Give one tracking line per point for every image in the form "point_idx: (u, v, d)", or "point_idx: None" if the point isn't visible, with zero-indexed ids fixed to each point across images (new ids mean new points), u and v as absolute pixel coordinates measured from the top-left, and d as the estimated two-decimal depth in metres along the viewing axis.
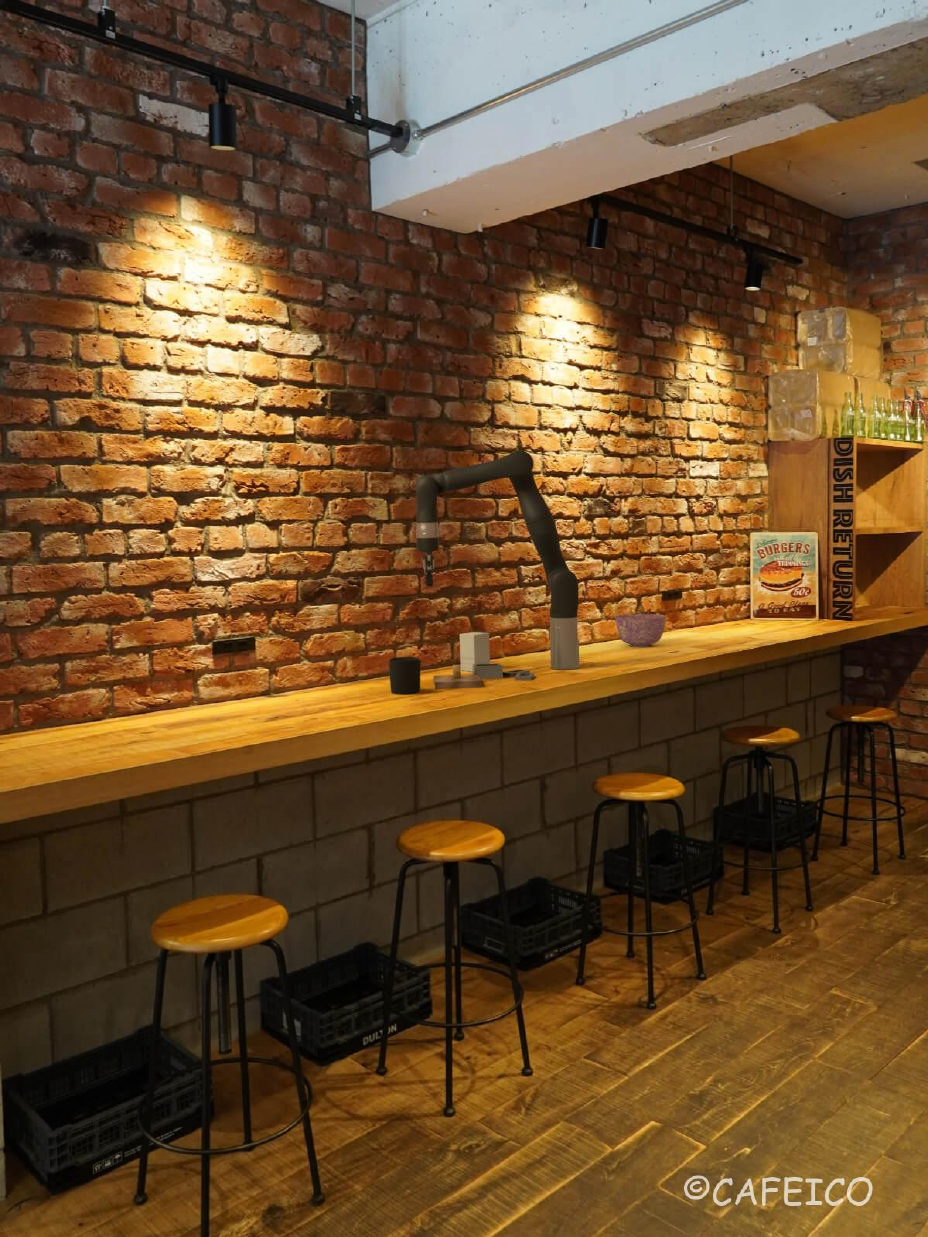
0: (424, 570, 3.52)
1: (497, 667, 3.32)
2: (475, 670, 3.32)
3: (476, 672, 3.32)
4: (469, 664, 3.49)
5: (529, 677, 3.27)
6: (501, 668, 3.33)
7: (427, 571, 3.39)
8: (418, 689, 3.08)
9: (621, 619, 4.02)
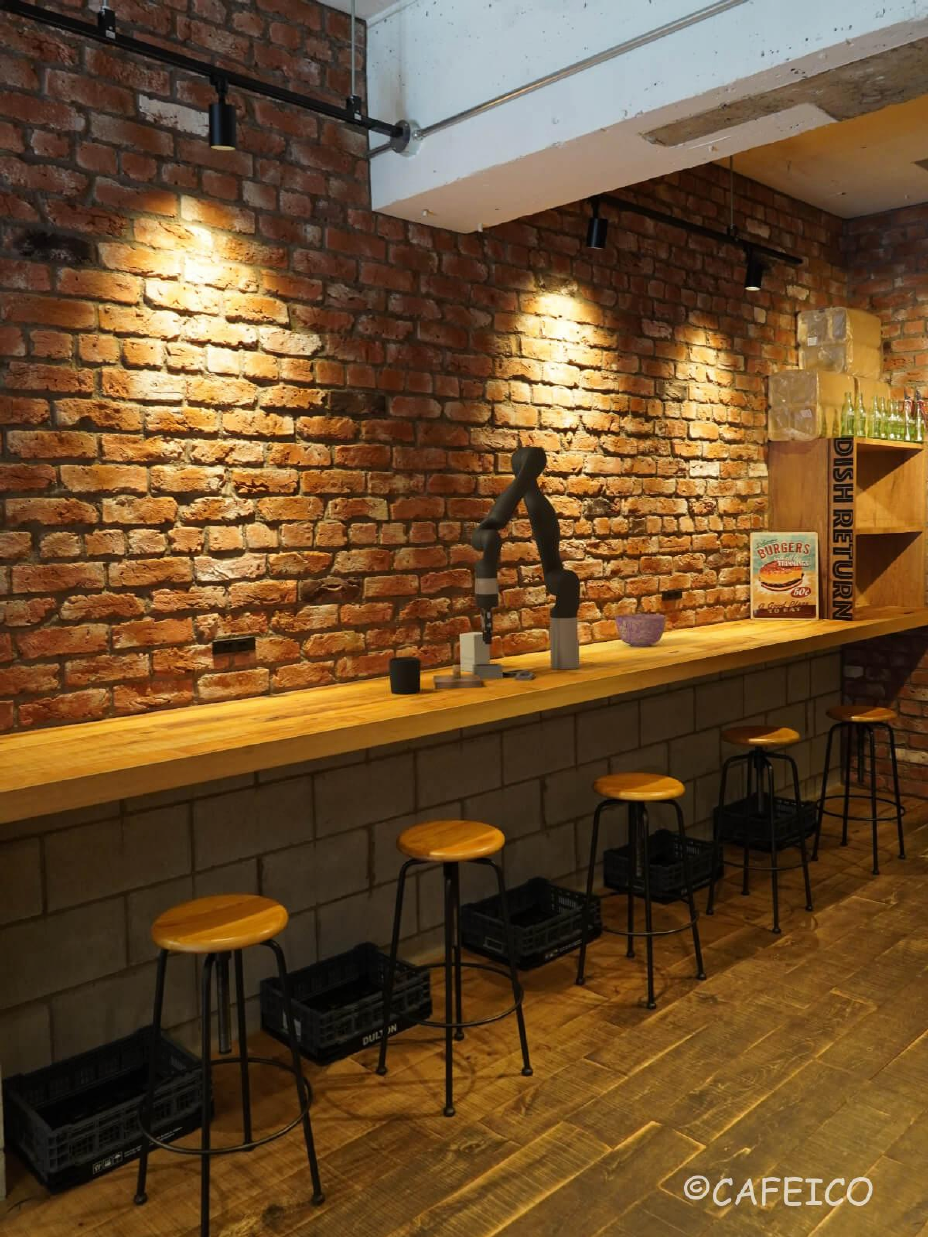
0: None
1: (497, 667, 3.32)
2: (475, 670, 3.32)
3: (476, 672, 3.32)
4: (470, 664, 3.49)
5: (529, 677, 3.27)
6: (501, 668, 3.33)
7: (486, 629, 3.27)
8: (418, 689, 3.08)
9: (621, 619, 4.02)
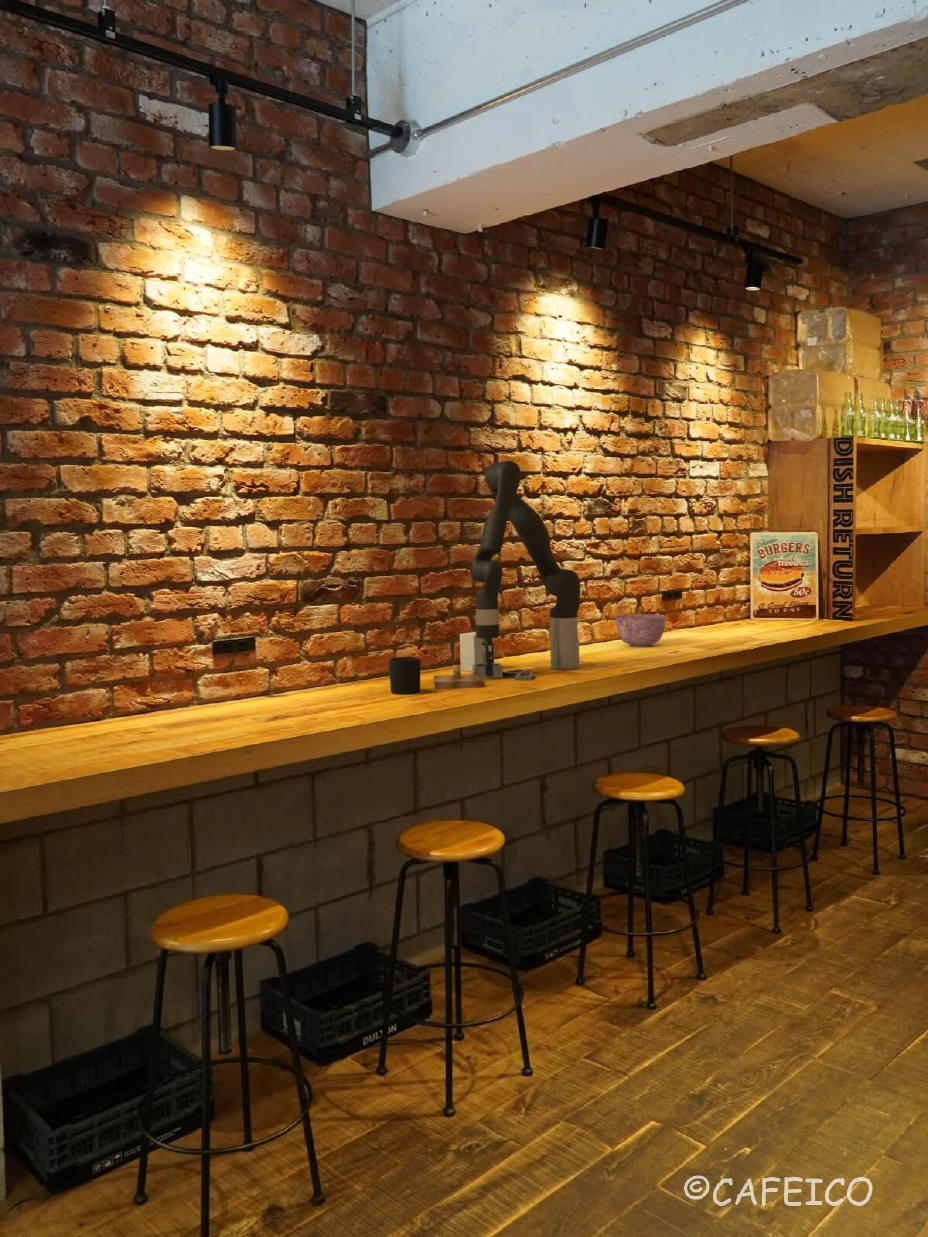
0: None
1: (497, 667, 3.32)
2: (475, 670, 3.32)
3: (476, 672, 3.32)
4: (470, 664, 3.49)
5: (529, 677, 3.27)
6: (501, 668, 3.33)
7: (488, 662, 3.29)
8: (418, 689, 3.08)
9: (621, 619, 4.02)
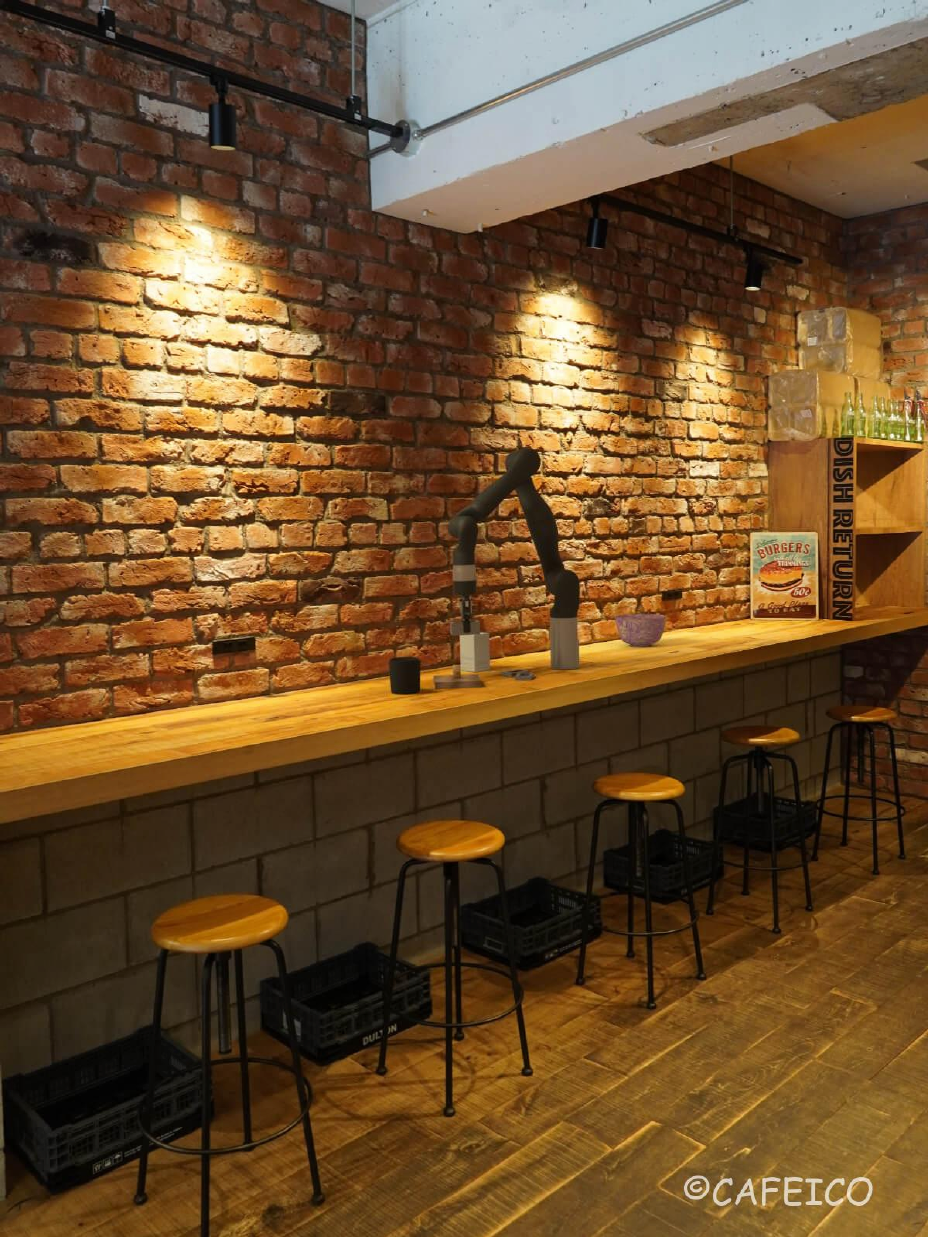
0: None
1: (474, 623, 3.31)
2: (452, 626, 3.30)
3: (453, 628, 3.30)
4: (470, 664, 3.49)
5: (529, 677, 3.27)
6: (478, 624, 3.31)
7: (465, 618, 3.27)
8: (418, 689, 3.08)
9: (621, 619, 4.02)
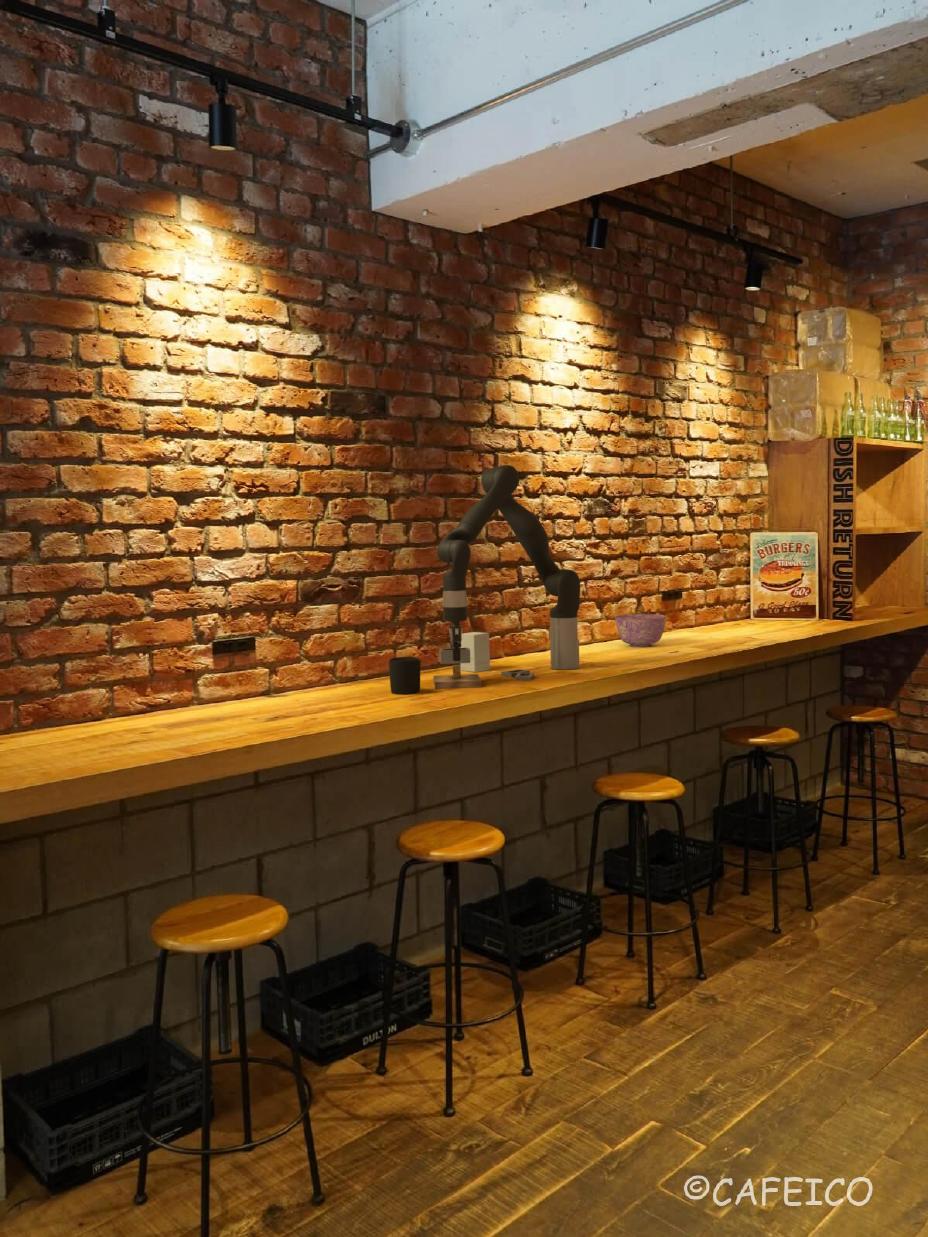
0: (451, 642, 3.26)
1: (464, 651, 3.18)
2: (441, 654, 3.18)
3: (442, 656, 3.18)
4: (470, 664, 3.49)
5: (529, 677, 3.27)
6: (469, 652, 3.18)
7: (455, 646, 3.15)
8: (418, 689, 3.08)
9: (621, 619, 4.02)
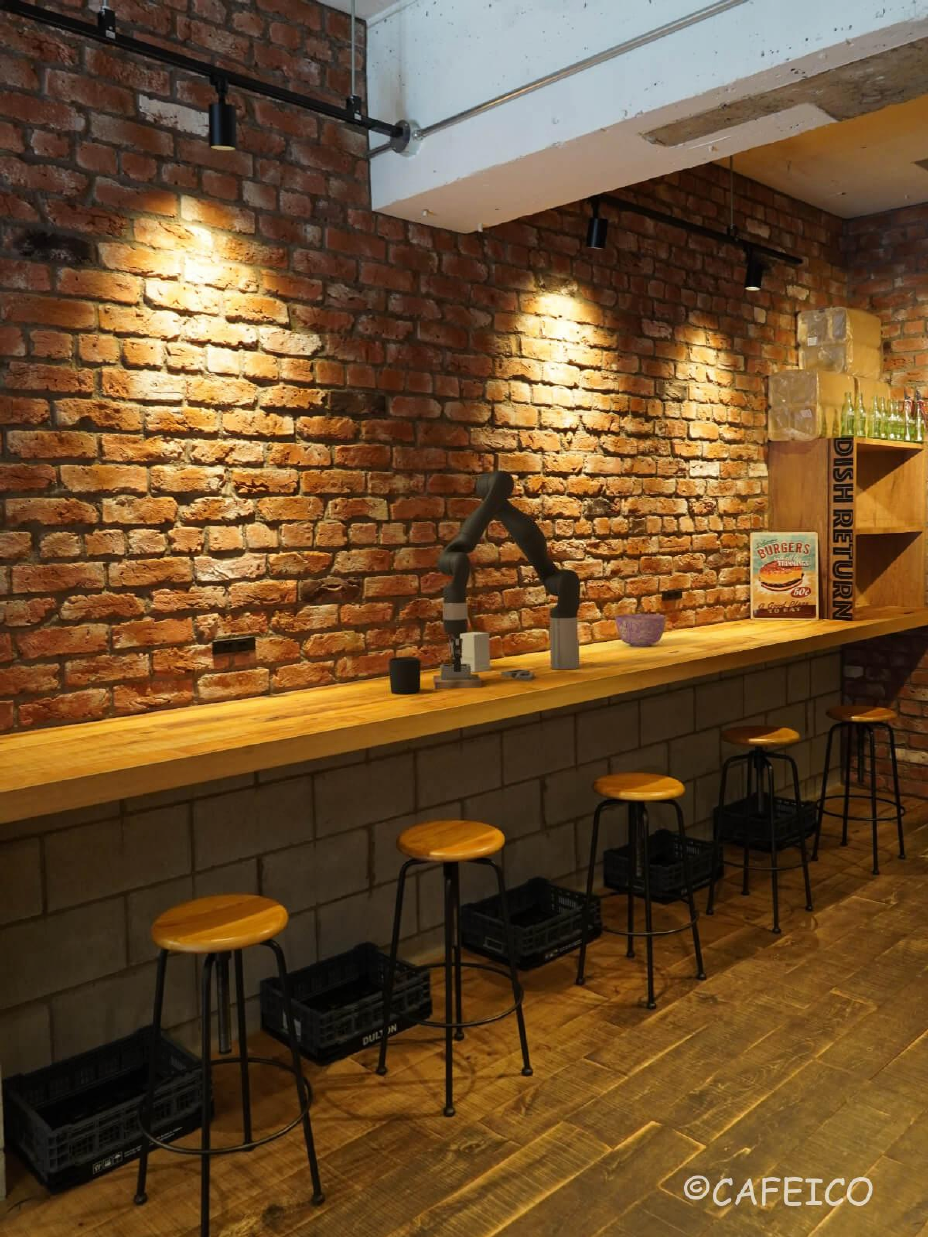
0: None
1: (465, 667, 3.19)
2: (442, 671, 3.18)
3: (443, 673, 3.18)
4: (470, 664, 3.49)
5: (529, 677, 3.27)
6: (469, 668, 3.19)
7: (455, 656, 3.14)
8: (418, 689, 3.08)
9: (621, 619, 4.02)
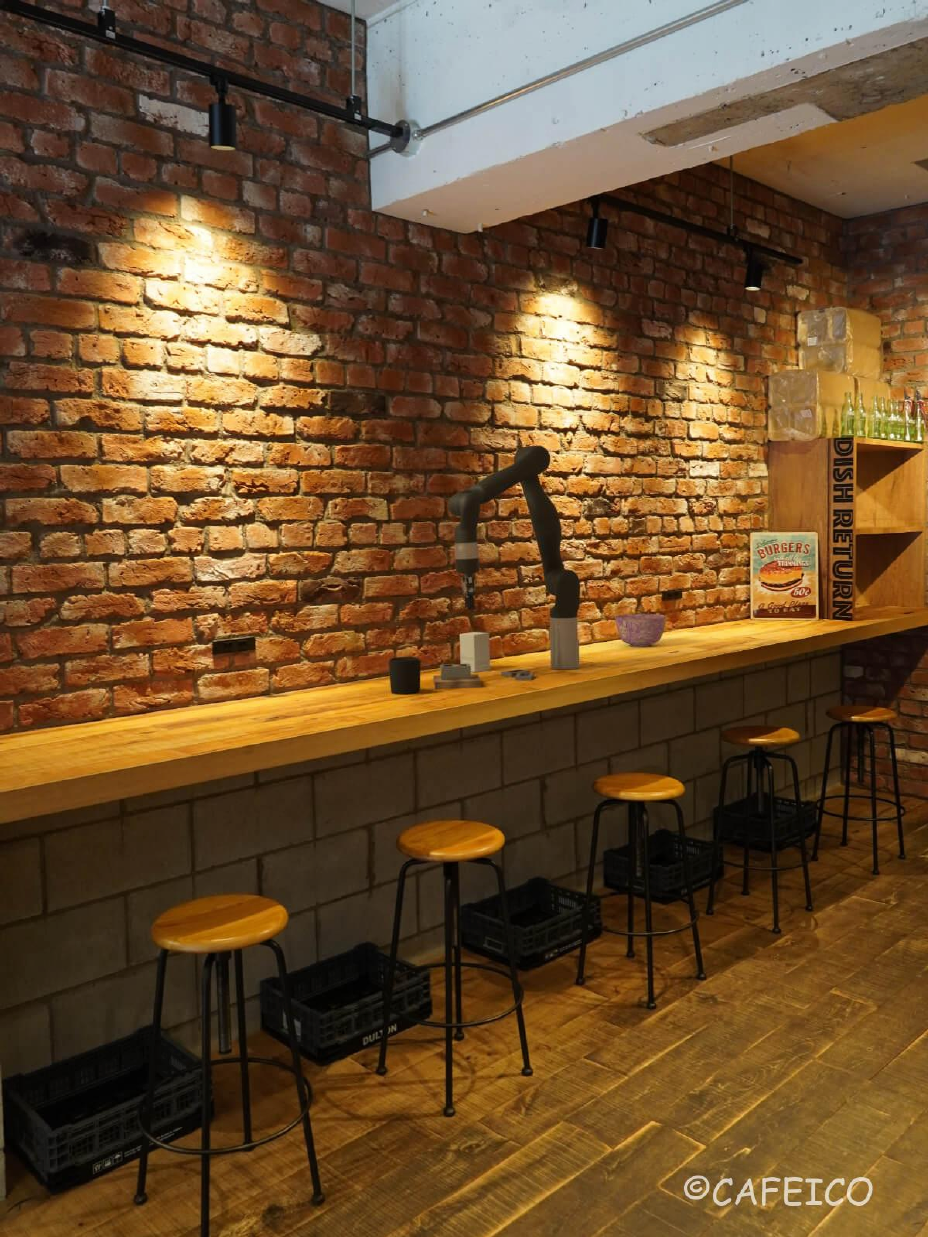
0: (463, 592, 3.36)
1: (465, 667, 3.19)
2: (442, 671, 3.18)
3: (443, 673, 3.18)
4: (470, 664, 3.49)
5: (529, 677, 3.27)
6: (469, 668, 3.19)
7: (469, 594, 3.22)
8: (418, 689, 3.08)
9: (621, 619, 4.02)
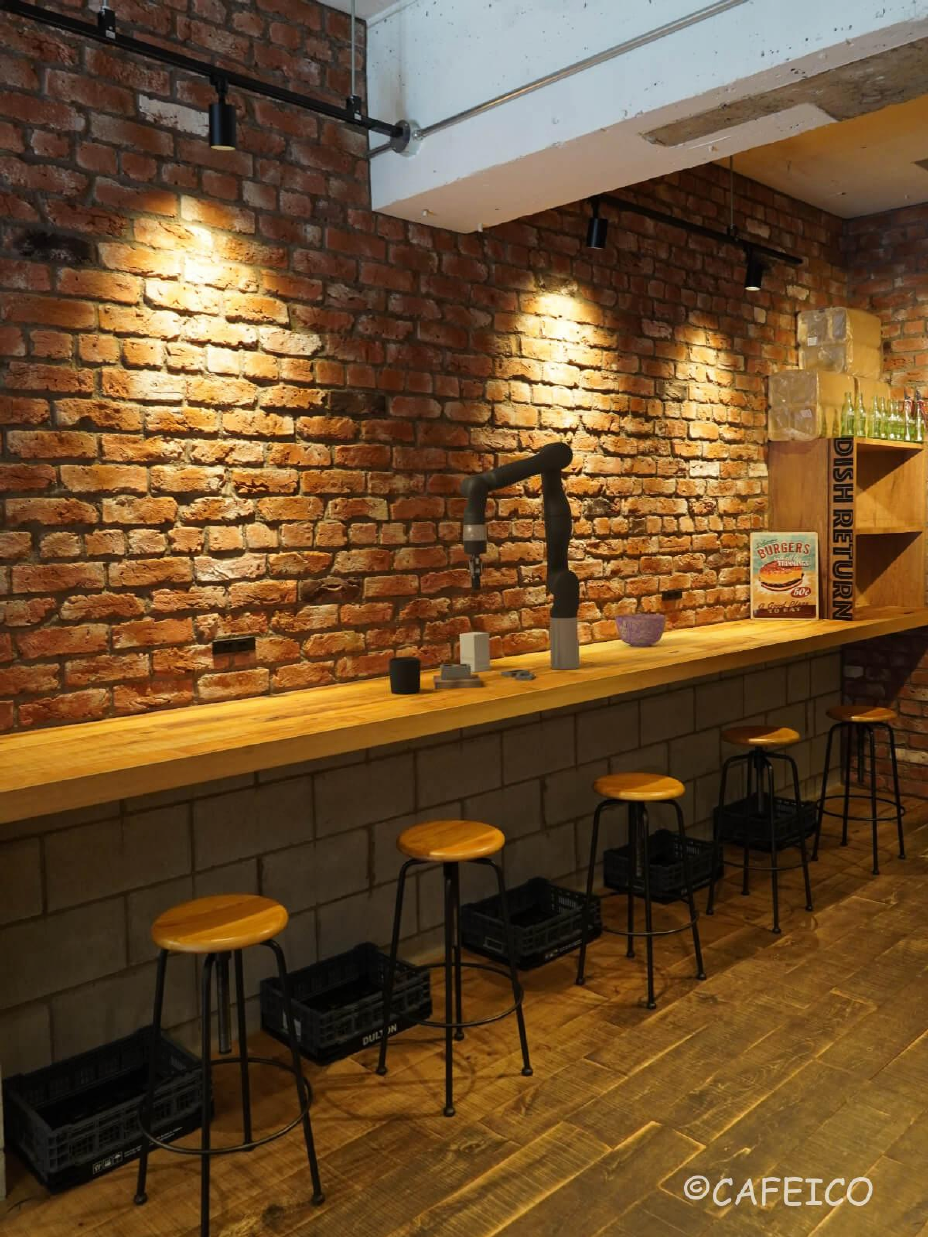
0: (470, 573, 3.44)
1: (465, 667, 3.19)
2: (442, 671, 3.18)
3: (443, 673, 3.18)
4: (470, 664, 3.49)
5: (529, 677, 3.27)
6: (469, 668, 3.19)
7: (475, 574, 3.30)
8: (418, 689, 3.08)
9: (621, 619, 4.02)
